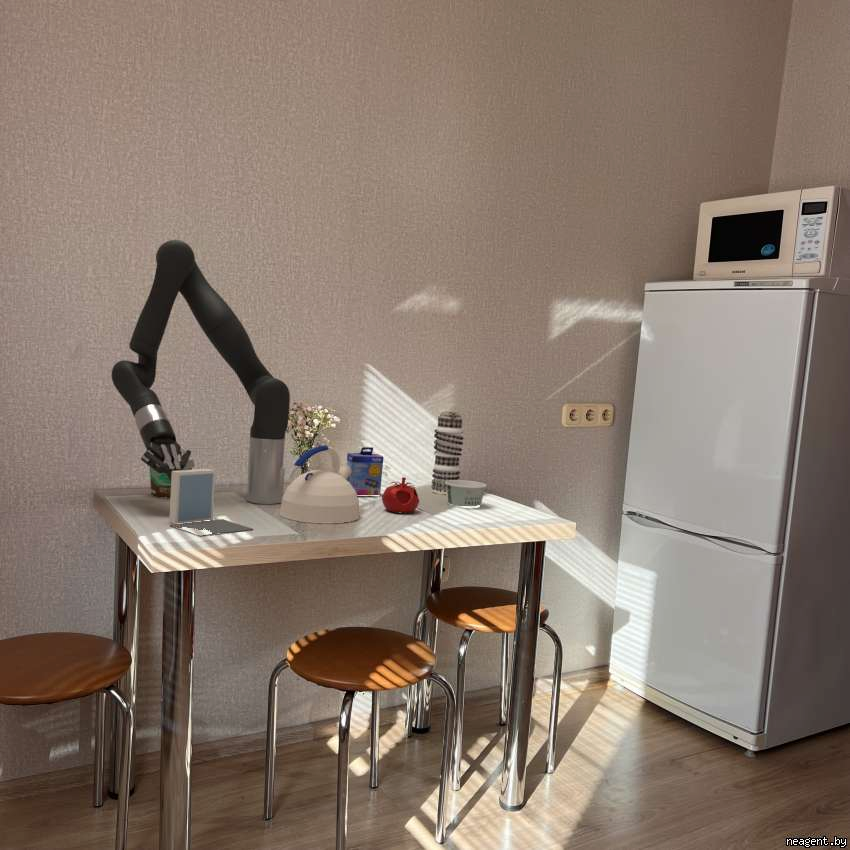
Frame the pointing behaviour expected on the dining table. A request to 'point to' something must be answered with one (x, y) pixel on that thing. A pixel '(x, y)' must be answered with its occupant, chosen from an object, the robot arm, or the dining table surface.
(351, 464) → the ink cartridge box
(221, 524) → the mat
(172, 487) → the tile
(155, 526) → the dining table surface
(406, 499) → the pomegranate
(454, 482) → the food container
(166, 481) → the food container
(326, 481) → the kettle
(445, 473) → the leaning tower model
